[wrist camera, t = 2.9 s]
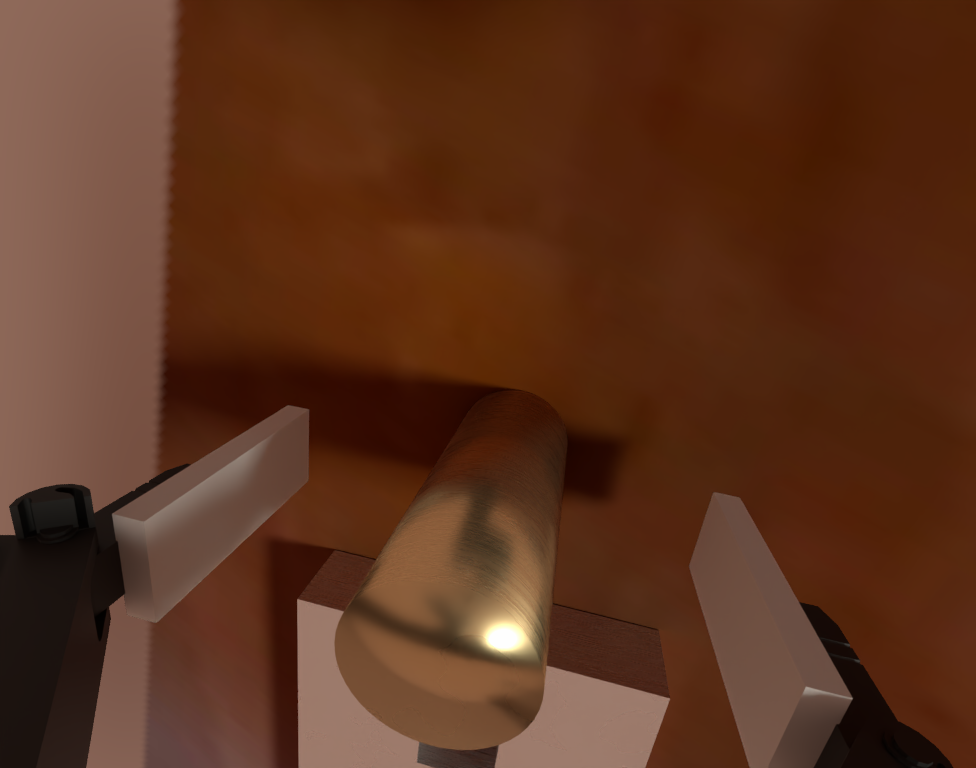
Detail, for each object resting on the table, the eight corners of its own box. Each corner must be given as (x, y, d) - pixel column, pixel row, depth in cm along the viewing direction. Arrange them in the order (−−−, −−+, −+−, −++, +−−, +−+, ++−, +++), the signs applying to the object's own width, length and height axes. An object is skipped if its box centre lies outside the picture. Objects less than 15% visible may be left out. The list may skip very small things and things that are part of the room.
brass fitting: (467, 380, 18) (336, 557, 9) (577, 401, 17) (562, 613, 8) (456, 475, 19) (332, 716, 10) (557, 497, 19) (525, 773, 9)
